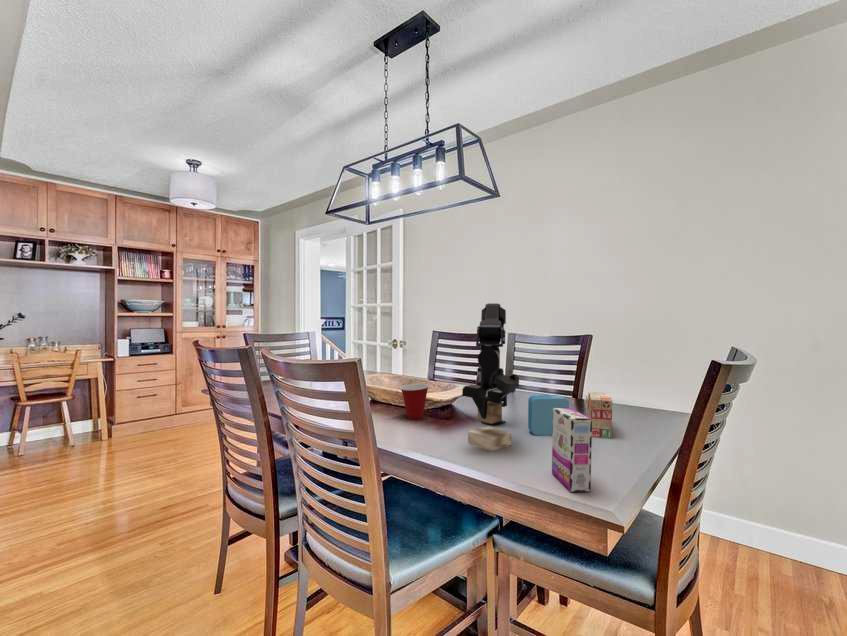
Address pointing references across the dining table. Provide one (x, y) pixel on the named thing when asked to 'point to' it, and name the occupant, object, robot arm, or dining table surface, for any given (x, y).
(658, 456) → the dining table surface
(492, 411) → the walnut cube
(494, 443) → the maple base block
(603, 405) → the stack of blocks
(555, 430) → the candy bar box
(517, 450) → the dining table surface
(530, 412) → the blue flat block
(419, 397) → the plastic cup
